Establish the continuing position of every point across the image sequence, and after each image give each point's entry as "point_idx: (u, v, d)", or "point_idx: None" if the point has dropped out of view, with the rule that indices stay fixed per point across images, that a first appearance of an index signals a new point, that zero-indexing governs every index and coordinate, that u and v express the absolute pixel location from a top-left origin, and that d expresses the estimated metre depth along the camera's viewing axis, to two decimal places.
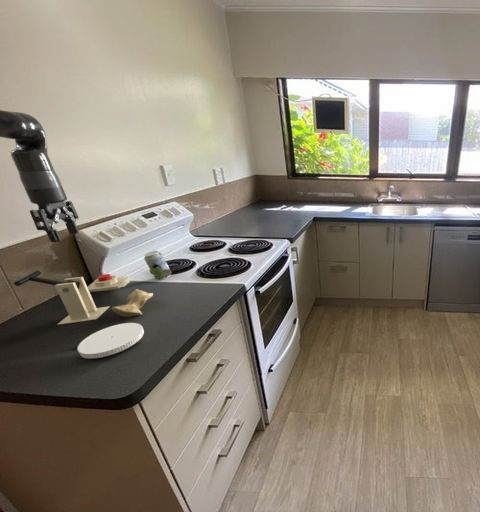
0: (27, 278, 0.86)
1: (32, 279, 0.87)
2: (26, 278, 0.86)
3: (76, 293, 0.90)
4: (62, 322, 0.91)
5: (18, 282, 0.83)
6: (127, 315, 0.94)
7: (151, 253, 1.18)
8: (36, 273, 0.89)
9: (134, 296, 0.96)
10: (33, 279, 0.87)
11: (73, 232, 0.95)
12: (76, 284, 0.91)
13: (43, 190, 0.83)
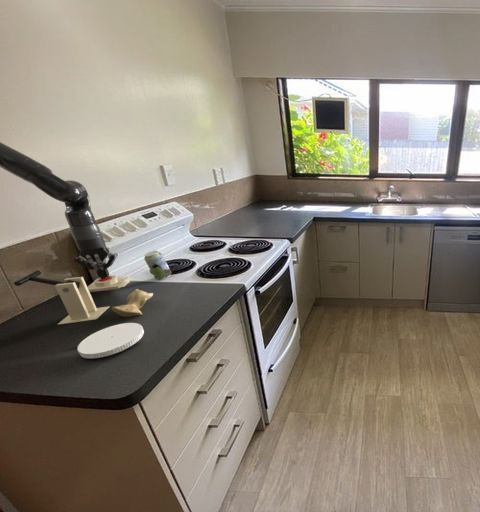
0: (27, 278, 0.86)
1: (32, 279, 0.87)
2: (26, 278, 0.86)
3: (76, 293, 0.90)
4: (62, 322, 0.91)
5: (18, 282, 0.83)
6: (127, 315, 0.94)
7: (151, 253, 1.18)
8: (36, 273, 0.89)
9: (134, 296, 0.96)
10: (33, 279, 0.87)
11: None
12: (76, 284, 0.91)
13: (74, 240, 1.04)
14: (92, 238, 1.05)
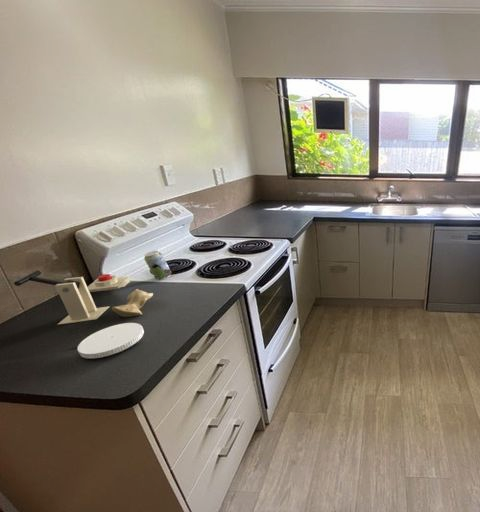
0: (27, 278, 0.86)
1: (32, 279, 0.87)
2: (26, 278, 0.86)
3: (76, 293, 0.90)
4: (62, 322, 0.91)
5: (18, 282, 0.83)
6: (127, 315, 0.94)
7: (151, 253, 1.18)
8: (36, 273, 0.89)
9: (134, 296, 0.96)
10: (33, 279, 0.87)
11: None
12: (76, 284, 0.91)
13: None
14: None
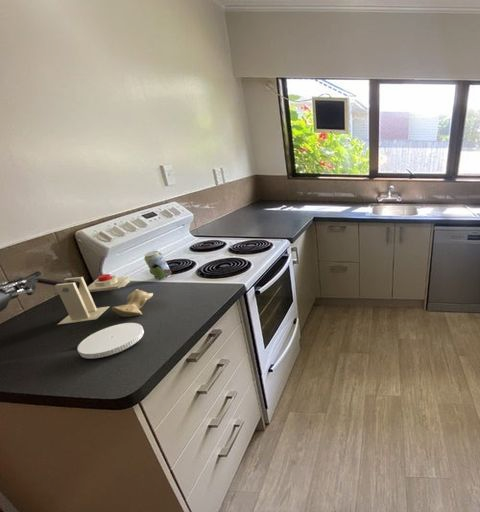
0: None
1: None
2: None
3: (76, 293, 0.90)
4: (62, 322, 0.91)
5: None
6: (127, 315, 0.94)
7: (151, 253, 1.18)
8: (36, 274, 0.89)
9: (134, 296, 0.96)
10: None
11: None
12: (76, 284, 0.91)
13: None
14: None
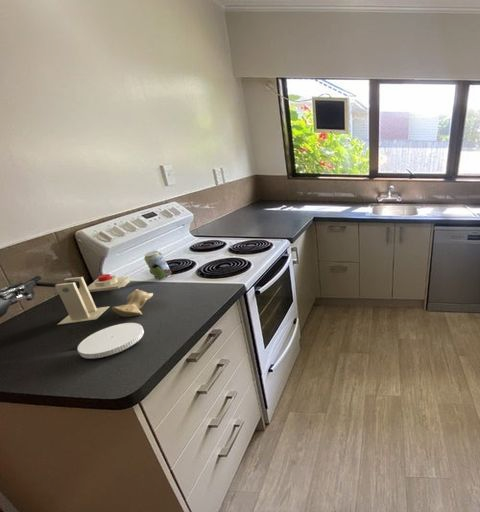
0: None
1: None
2: None
3: (76, 293, 0.90)
4: (62, 322, 0.91)
5: None
6: (127, 315, 0.94)
7: (151, 253, 1.18)
8: (36, 278, 0.89)
9: (134, 296, 0.96)
10: None
11: None
12: (75, 283, 0.91)
13: None
14: None
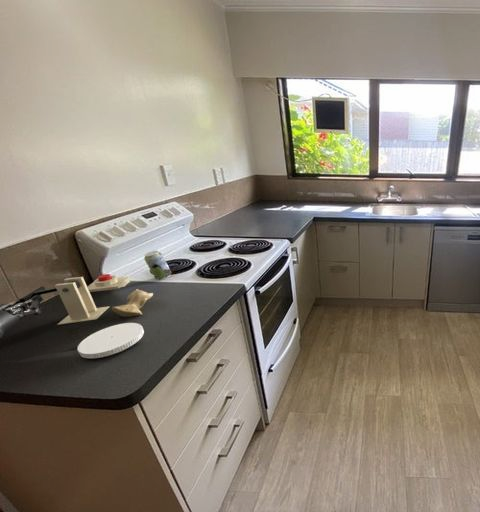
0: (30, 294, 0.87)
1: (36, 293, 0.88)
2: (29, 294, 0.87)
3: (76, 293, 0.90)
4: (62, 322, 0.91)
5: (22, 299, 0.85)
6: (127, 315, 0.94)
7: (151, 253, 1.18)
8: (39, 288, 0.91)
9: (134, 296, 0.96)
10: (37, 293, 0.88)
11: None
12: None
13: None
14: (1, 336, 0.75)
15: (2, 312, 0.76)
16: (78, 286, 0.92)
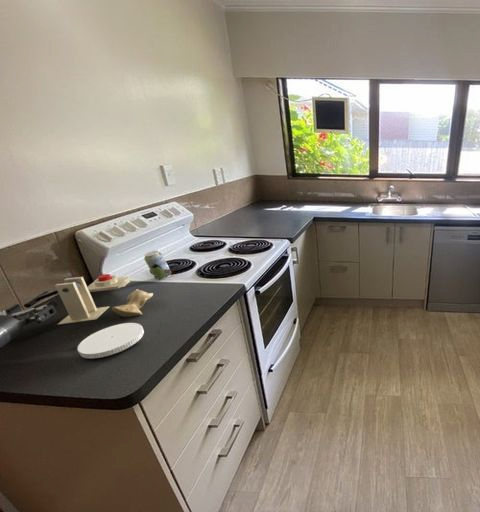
0: (34, 299, 0.88)
1: (40, 298, 0.89)
2: (33, 299, 0.88)
3: (76, 293, 0.90)
4: (62, 322, 0.91)
5: (26, 304, 0.86)
6: (127, 315, 0.94)
7: (151, 253, 1.18)
8: (43, 293, 0.91)
9: (134, 296, 0.96)
10: (40, 297, 0.89)
11: None
12: (71, 281, 0.90)
13: None
14: None
15: (9, 318, 0.77)
16: (78, 285, 0.92)
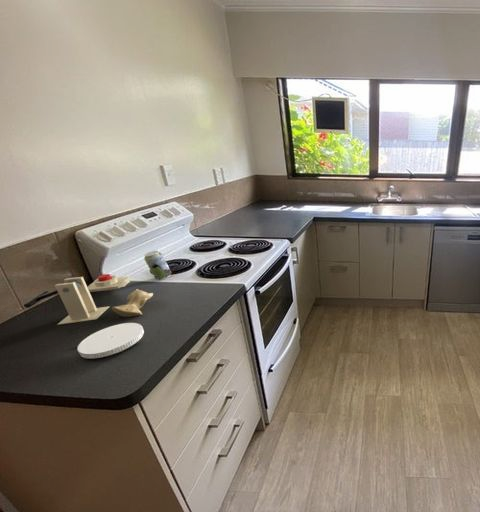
0: (34, 299, 0.88)
1: (40, 298, 0.89)
2: (33, 299, 0.88)
3: (76, 293, 0.90)
4: (62, 322, 0.91)
5: (26, 304, 0.86)
6: (127, 315, 0.94)
7: (151, 253, 1.18)
8: (43, 293, 0.91)
9: (134, 296, 0.96)
10: (40, 297, 0.89)
11: None
12: (71, 281, 0.90)
13: None
14: None
15: None
16: (78, 285, 0.92)
